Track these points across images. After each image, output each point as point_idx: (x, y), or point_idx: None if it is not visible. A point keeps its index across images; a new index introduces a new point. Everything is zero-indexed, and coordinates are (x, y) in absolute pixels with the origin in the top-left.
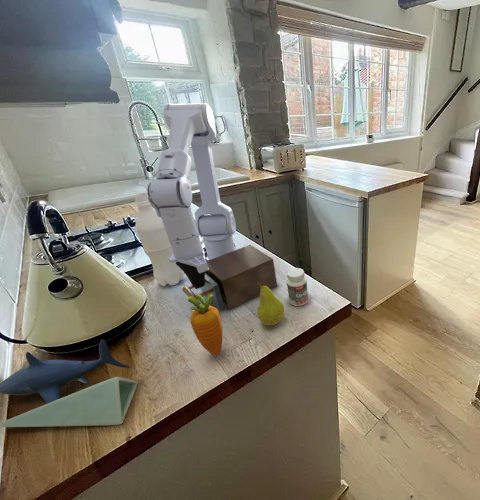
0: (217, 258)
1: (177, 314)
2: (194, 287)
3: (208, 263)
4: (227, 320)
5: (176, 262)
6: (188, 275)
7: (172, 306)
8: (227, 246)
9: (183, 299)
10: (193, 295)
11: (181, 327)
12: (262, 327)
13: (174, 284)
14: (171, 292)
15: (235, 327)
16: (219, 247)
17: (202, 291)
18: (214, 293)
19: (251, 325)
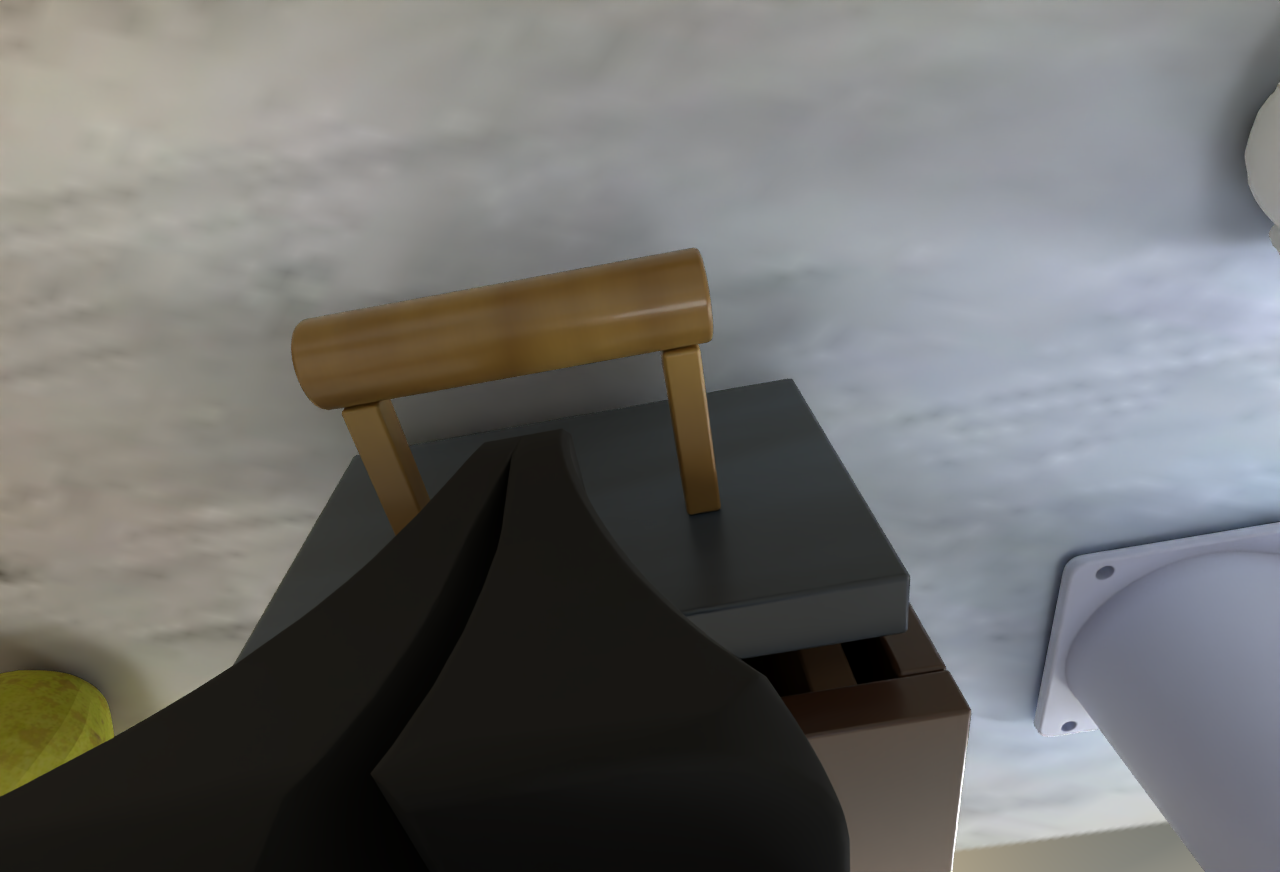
0: (909, 859)
1: (590, 39)
2: (492, 447)
3: (862, 775)
4: (223, 456)
5: (733, 787)
6: (233, 672)
7: (804, 11)
8: (1212, 862)
9: (854, 164)
10: (343, 380)
11: (296, 35)
12: (24, 632)
13: (1252, 127)
14: (1126, 57)
15: (91, 486)
16: (1269, 823)
17: (769, 391)
18: (303, 585)
19: (77, 582)
